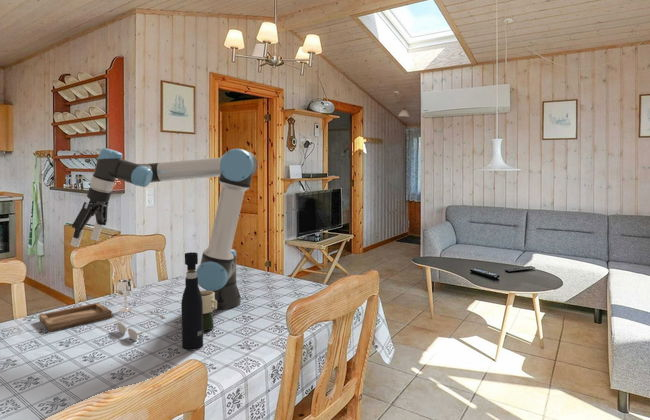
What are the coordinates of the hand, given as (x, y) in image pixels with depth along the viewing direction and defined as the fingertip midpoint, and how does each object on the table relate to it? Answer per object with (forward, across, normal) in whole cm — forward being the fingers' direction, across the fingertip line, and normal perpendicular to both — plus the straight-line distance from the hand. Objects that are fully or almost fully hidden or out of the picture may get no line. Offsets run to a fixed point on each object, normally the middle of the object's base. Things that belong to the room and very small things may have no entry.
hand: (84, 242), depth 159 cm
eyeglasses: (+18, +14, +37) cm, 44 cm away
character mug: (+12, +14, +55) cm, 58 cm away
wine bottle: (+12, +28, +55) cm, 63 cm away
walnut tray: (+27, +6, +8) cm, 28 cm away
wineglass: (+23, -5, +20) cm, 31 cm away
